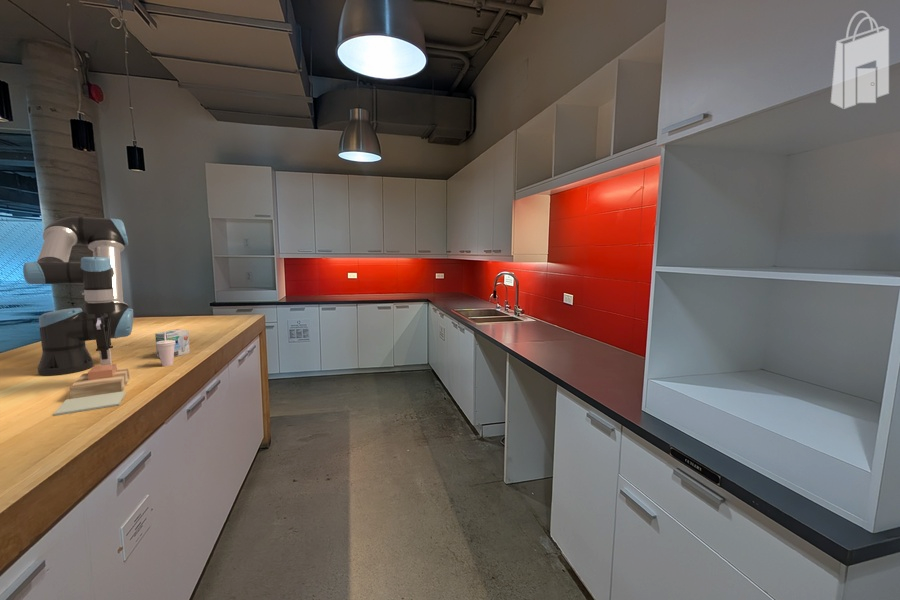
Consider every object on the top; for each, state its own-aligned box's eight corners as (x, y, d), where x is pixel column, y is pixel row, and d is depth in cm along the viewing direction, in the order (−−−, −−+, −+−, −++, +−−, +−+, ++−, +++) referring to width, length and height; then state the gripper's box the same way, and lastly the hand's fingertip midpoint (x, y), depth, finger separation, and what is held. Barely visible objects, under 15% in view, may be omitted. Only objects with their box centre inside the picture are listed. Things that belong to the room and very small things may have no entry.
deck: (84, 384, 129) (82, 373, 129) (129, 379, 136) (128, 368, 135) (70, 400, 116) (69, 388, 115) (121, 393, 122) (120, 381, 122)
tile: (94, 373, 129) (93, 366, 129) (117, 370, 133) (116, 363, 132) (88, 379, 123) (87, 372, 122) (112, 376, 126) (111, 369, 126)
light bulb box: (168, 359, 161) (166, 334, 159) (156, 357, 162) (154, 333, 161) (190, 352, 171) (189, 329, 170) (178, 351, 173) (177, 328, 171)
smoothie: (155, 368, 148) (153, 333, 147) (159, 363, 154) (156, 330, 152) (175, 366, 151) (173, 332, 150) (178, 361, 157) (176, 329, 155)
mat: (66, 401, 115) (66, 399, 115) (125, 392, 123) (125, 390, 123) (53, 415, 105) (53, 413, 105) (119, 405, 113) (119, 403, 113)
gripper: (89, 300, 133) (96, 364, 136) (79, 304, 122) (87, 374, 125) (117, 299, 137) (123, 361, 140) (110, 303, 126) (117, 370, 129)
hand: (106, 367), depth 132 cm, fingers closed
